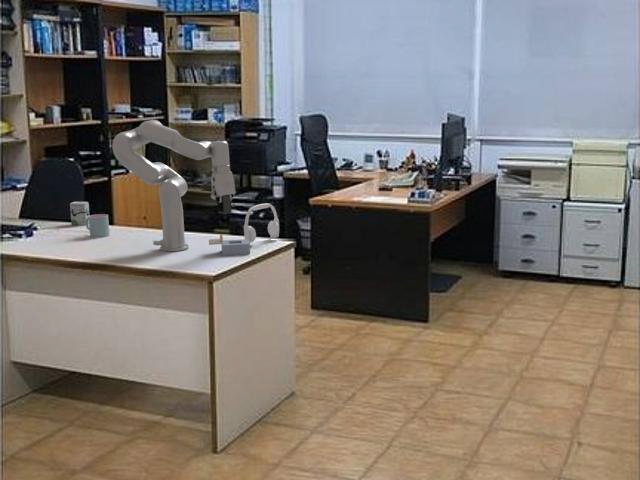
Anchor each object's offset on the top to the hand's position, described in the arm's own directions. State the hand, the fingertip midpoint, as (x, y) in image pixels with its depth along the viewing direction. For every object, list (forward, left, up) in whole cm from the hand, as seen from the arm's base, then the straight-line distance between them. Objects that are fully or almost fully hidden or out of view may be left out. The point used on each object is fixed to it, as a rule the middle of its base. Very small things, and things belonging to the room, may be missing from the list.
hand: (224, 210), depth 366 cm
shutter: (-5, -7, -13) cm, 15 cm away
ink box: (-74, +81, -18) cm, 111 cm away
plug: (0, 0, -1) cm, 1 cm away
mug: (-62, +48, -18) cm, 81 cm away
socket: (+4, -7, -18) cm, 20 cm away
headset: (+17, +12, -18) cm, 27 cm away
